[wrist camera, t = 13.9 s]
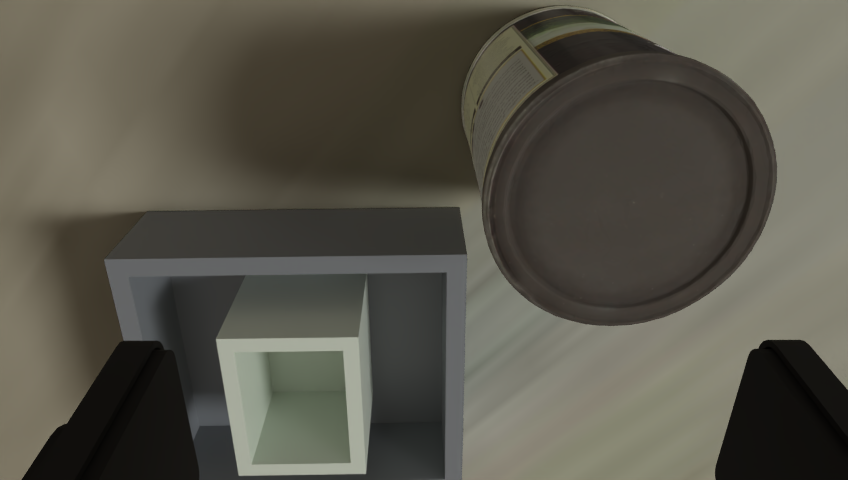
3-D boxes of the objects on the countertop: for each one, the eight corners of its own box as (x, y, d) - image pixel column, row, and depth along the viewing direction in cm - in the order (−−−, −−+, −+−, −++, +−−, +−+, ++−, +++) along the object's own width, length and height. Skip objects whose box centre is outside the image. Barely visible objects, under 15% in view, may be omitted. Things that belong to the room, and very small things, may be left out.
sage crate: (247, 271, 39) (215, 339, 33) (367, 269, 39) (358, 337, 33) (264, 394, 43) (238, 475, 37) (372, 392, 43) (366, 473, 37)
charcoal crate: (147, 211, 38) (103, 259, 33) (459, 207, 39) (467, 254, 33) (191, 427, 45) (161, 496, 40) (455, 423, 46) (461, 491, 40)
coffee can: (598, -38, 33) (714, -12, 20) (678, 133, 37) (817, 245, 24) (422, 72, 35) (427, 159, 23) (514, 223, 39) (563, 369, 26)
